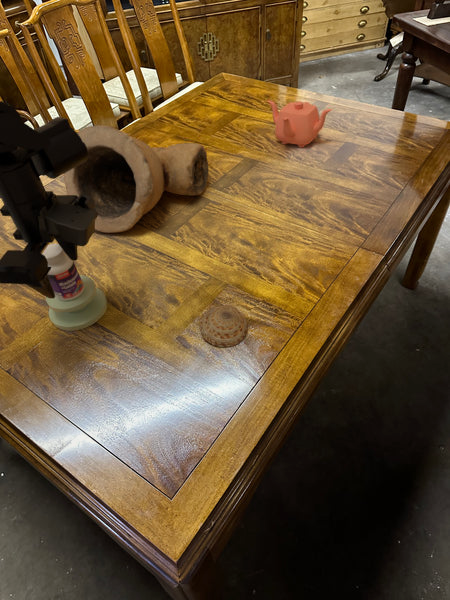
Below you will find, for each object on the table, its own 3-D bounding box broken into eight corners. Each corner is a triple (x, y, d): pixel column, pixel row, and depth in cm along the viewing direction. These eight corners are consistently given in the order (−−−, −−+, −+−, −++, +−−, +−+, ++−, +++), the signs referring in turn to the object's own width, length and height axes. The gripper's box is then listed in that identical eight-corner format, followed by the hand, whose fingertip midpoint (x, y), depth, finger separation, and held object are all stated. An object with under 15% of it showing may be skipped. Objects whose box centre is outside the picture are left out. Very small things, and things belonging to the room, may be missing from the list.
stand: (41, 329, 79) (30, 311, 75) (64, 289, 86) (55, 270, 83) (95, 332, 77) (87, 314, 73) (114, 291, 84) (107, 272, 81)
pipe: (214, 209, 119) (181, 240, 92) (119, 204, 124) (63, 233, 98) (212, 119, 108) (175, 126, 82) (109, 119, 114) (44, 125, 88)
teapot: (329, 146, 121) (333, 107, 113) (282, 155, 119) (282, 116, 112) (311, 126, 131) (313, 89, 123) (267, 134, 129) (266, 97, 122)
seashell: (230, 295, 78) (248, 307, 71) (237, 321, 80) (256, 336, 73) (190, 311, 75) (205, 326, 68) (198, 338, 78) (213, 355, 71)
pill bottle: (69, 305, 75) (49, 264, 68) (49, 295, 78) (27, 255, 71) (91, 287, 78) (73, 245, 71) (71, 278, 81) (52, 237, 74)
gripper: (48, 235, 50) (89, 322, 61) (101, 160, 63) (127, 243, 74) (-35, 234, 51) (19, 319, 62) (33, 161, 64) (68, 242, 75)
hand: (63, 277), depth 68 cm, fingers open, 9 cm apart
